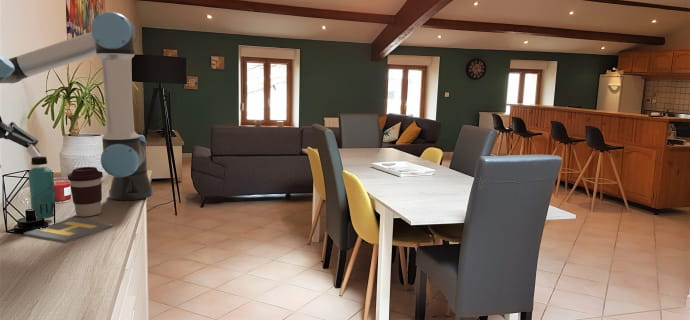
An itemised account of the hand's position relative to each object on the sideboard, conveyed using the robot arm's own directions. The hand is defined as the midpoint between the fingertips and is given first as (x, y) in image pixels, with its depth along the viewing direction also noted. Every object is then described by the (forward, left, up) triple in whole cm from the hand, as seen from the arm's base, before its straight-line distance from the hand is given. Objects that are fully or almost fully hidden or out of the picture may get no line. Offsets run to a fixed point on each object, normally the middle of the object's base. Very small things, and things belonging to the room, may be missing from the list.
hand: (20, 165), depth 153 cm
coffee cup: (-12, +13, -17) cm, 25 cm away
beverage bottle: (-1, +7, -17) cm, 18 cm away
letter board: (+3, +22, -17) cm, 28 cm away
